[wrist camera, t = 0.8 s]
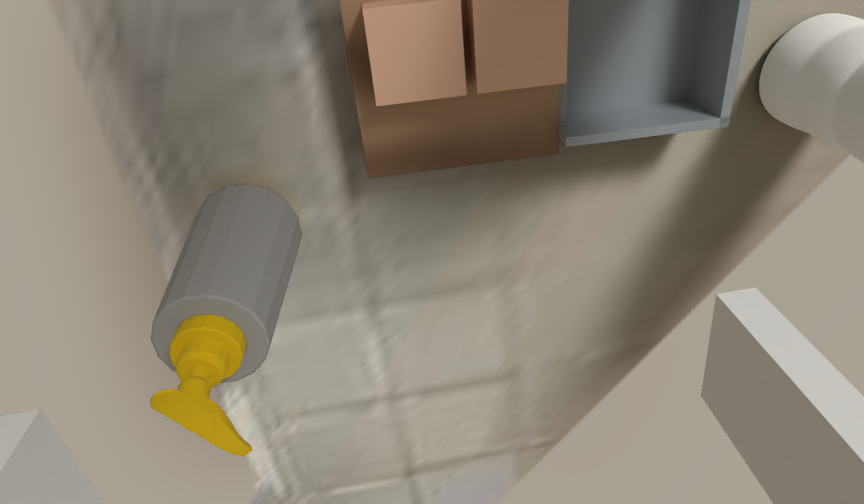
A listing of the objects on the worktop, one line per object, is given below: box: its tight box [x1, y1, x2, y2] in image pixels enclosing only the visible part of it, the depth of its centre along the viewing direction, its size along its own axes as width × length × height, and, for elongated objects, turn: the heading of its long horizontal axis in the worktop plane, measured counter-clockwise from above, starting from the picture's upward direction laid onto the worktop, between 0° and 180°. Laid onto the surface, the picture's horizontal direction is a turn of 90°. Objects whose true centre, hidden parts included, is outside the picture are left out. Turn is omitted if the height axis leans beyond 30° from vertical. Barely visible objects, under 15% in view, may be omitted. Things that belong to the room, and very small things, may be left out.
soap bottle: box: [150, 184, 302, 456], centre depth 33 cm, size 7×7×18 cm
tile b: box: [467, 0, 569, 94], centre depth 32 cm, size 5×5×2 cm
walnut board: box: [339, 0, 560, 178], centre depth 34 cm, size 15×12×3 cm
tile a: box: [362, 0, 467, 106], centre depth 32 cm, size 5×5×2 cm
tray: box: [559, 0, 751, 147], centre depth 34 cm, size 13×10×4 cm
